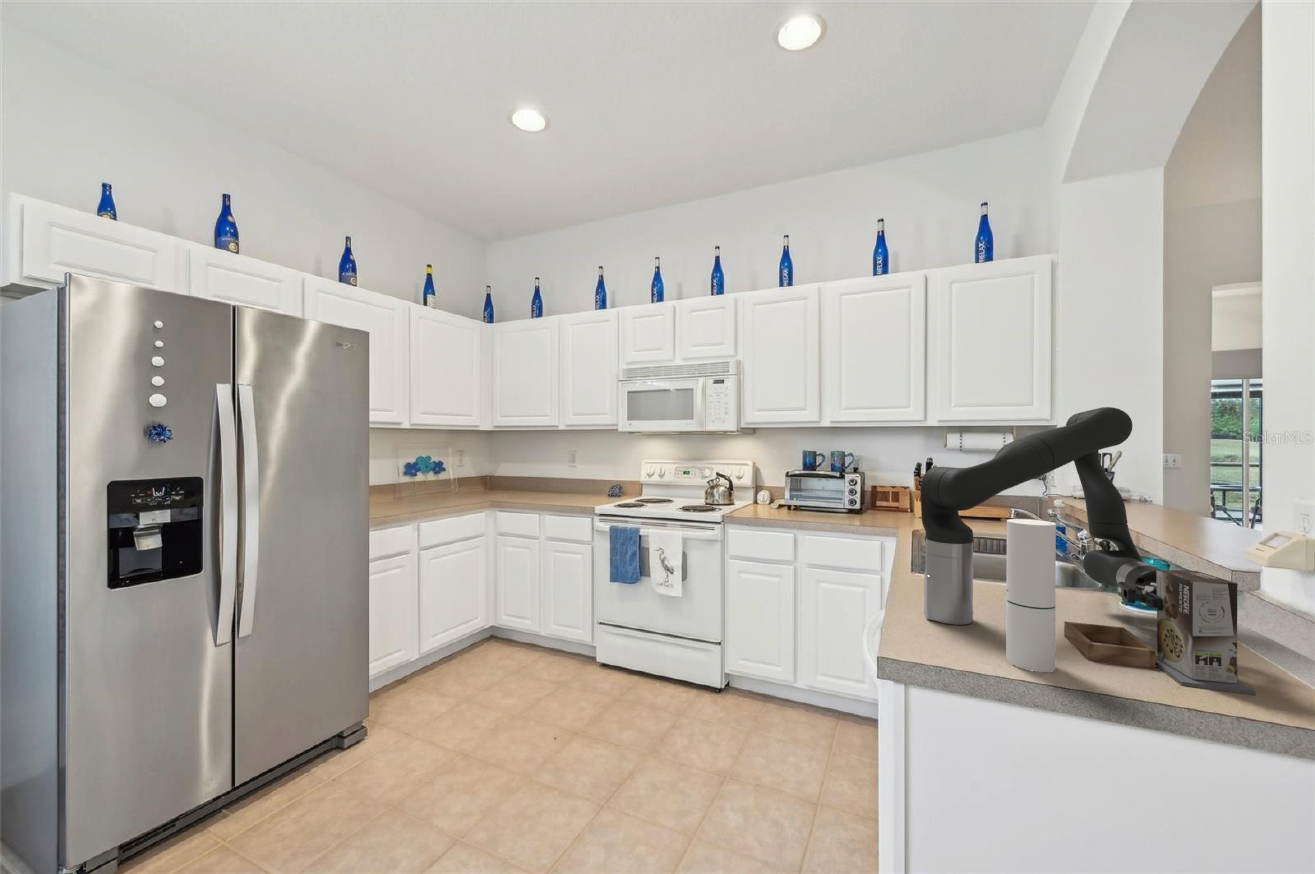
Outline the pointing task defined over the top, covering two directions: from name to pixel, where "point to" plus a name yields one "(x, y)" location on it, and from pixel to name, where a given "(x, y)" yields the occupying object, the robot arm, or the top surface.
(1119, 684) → the top surface
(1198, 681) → the rubber mat
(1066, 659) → the top surface
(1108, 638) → the walnut sleeve
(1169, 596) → the coffee box
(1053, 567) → the cylindrical container
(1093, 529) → the robot arm
